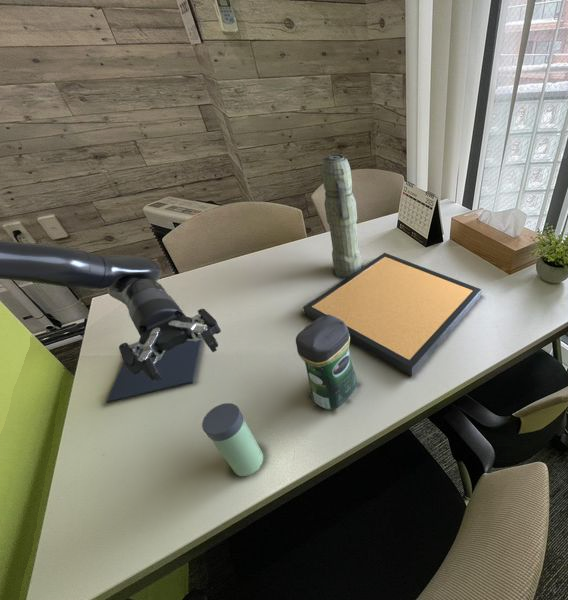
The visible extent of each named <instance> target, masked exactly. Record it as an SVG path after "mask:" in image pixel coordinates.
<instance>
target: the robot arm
mask: <svg viewBox="0 0 568 600" xmlns="http://www.w3.org/2000/svg"><path fill="white" fill-rule="evenodd" d="M161 275H162V269H161V266H160V265H159V264H158V263H157V262H155V261H154V260H153V259H151V258H149V257H147V256H143V255H142V256H141V255H137V254H98V253H94V252H89V251H85V250H81V249H78V248H73V247H67V246H61V245H55V244H46V243H45V244H44V243H35V242H34V243H33V242H20V241H12V240H11V241H10V240H2V239H0V280H9V281H19V282H27V283H33V284H34V283H35V284H36V283H37V284H43V285H44V284H45V285H51V286H57V287H58V286H59V287H64V288H72V289H79V290H86V291H87V290H88V291H104V290H106V289H107V294H108V295H109V296H110V297H111V298H113V299H114V300H116V301H119V302H121V303H122V304H123V305H125V306H126V308H127V311H128V314H129V315H128V316H129V317H130V320H131V321H132V324H133V325H134V327H135V329H136V331H137V333H138V335H139V339H138V341H136V342H134V343H132V344H128V343H129V342H124V343H121V344H120V345H119V346H118V348H119V352H120V356H121V359H122V364H123V363H124V365H125V366H126V367H127V368H128V370H129V371H130V372H131V373H132V374H133V375H135V374H138V373H139V372H140V370H144V372H145V374H146V375H147V377H148V378H149V379H150V380H154V379H156V381H159V380H161V379H162V378H161V376H160V374H159V372H158V370H157V368H156V366H155V364H156V362H157V360H160V359H161V358H162V356H163V354H164V353H165V351H166V350H167V351H168V350H170V349H172V348H174V347H175V346H177V345H180V344H183V343H185V342H186V340H188V341H198V340H202V341H204V343H205V344H206V345H207V347H208V348H209V349H210V351H211V352H212V353H215V352H217V348H218V347H219V343H218V341H217V339H216V338H215V336H214V335H217V334H220V333H221V332H222V330H221V328H220V327H219V326H220V325H219V324H218V321H217V320H216V319H215V318H214V317H213V315H211V314H210V313H209V312H208V311H207V310H206V309H205V308H200V309H198V310H197V313H198V314H195V315H194V316H191V317H190V316H186V314H185V313H184V311H183V310H182V308H181V307H180V306H179V305H178V302H176V300H175V299H174V298H173V297H172V296H171V295H170V294H169V293H168V292H167V290H165V287H163V286H162V284H160V283H159V279H160V278H161ZM197 324H200V325H197ZM141 348H143V352H142V353H141V355H140V357H139V358H138V359H137V358H136V357H138V356H139V354H138V353H139V351H140V349H141ZM148 358H149V359H148Z"/></svg>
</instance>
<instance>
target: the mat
mask: <svg viewBox="0 0 568 600" xmlns="http://www.w3.org/2000/svg"><path fill="white" fill-rule="evenodd" d="M202 341H203V340H198V341H188V340H186V342H185V343H183V344H180V345H177V346H175V347H174V348H172V349H170V350H168V351H167V350H166V351H165V353H164V354H163V356H162V358H161V359H160V360H157V362H156V364H155V366H156V368H157V370H158V372H159V374H160V376H161V378H162V379H161V380H159V381H156V379H154V380H150V379H149V378H148V377H147V375H146V374H145V372H144V370H140V372H139V373H138V374H135V375H133V374H132V373H131V372H130V371H129V370H128V368H127V367H126V366H125V365H124V363H123V362H122V365H121V367H120V369H119V372H118V374H117V376H116V378H115V380H114V383H113V386H112V387H111V390H110V392H109V395H108V397H107V399H106V402H107V403H108V404H110V403H113V402H118V401H122V400H123V401H124V400H126V399H131V398H135V397H139V396H143V395H147V394H151V393H156V392H160V391H164V390H168V389H172V388H177V387H181V386H186V385H189V384H193V383H194V381H195V376H196V372H197V366H198V361H199V356H200V352H201V347H202ZM142 352H143V348H141V349H140V351H139V353H138V354H139V356H138V357H136V358H137V359H138V358H139V357H140V355H141V353H142ZM148 359H149V358H148Z"/></svg>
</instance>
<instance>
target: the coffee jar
mask: <svg viewBox="0 0 568 600" xmlns="http://www.w3.org/2000/svg"><path fill="white" fill-rule="evenodd" d="M350 342H351V341H350V335H349V332H348V328H347V326H346V324H345V323H344V322H343V321H342V320H340V319H339V318H337V317H335V316H332V315H329V314H327V315H325V316H322V317H320V318H318V319H316V320H313V321H312V322H311V323H309V324H308V325H306V326H305V327H304V328H303V329H302V330H301V331H300V332H299V333H297V335H296V336H295V345H296V351H297V354H298V357H300V359H301V360H302V361H303V362H304V365H305V368H306V373H307V379H308V386H309V392H310V397H311V399H312V400H313V402H314V403H315V404H316V405H318V406H319V407H321V408H323V409H325V410H335V409H337V408H340V406H341V405H343V404H344V403H345V402H346V401H347V400H348V399H349V398H350V397H351V395H352V394H353V393H354V391H355V390H356V388H357V386H358V378H357V374H356V371H355V368H354V365H353V361H352V358H351V353H350Z"/></svg>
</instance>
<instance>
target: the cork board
mask: <svg viewBox="0 0 568 600" xmlns="http://www.w3.org/2000/svg"><path fill="white" fill-rule="evenodd" d="M482 292H483V289H482V288H479V287H476V286H474V285H471V284H468V283H466V282H463V281H461V280H458V279H456V278H452V277H450V276H447V275H444V274H442V273H440V272H438V271H437V272H436V271H435V270H432V269H429V268H426V267H423V266H421V265H418V264H415V263H413V262H410V261H407V260H405V259H403V258H400V257H397V256H394V255H392V254H389V253H386V252H383V253H382V254H380V255H379V256H377V257H375V258H374V259H372V260H371V261H370V262H368V263H366V264H365V265H364V266H361V269H359V270H358V271H356V272H355V273H353V274H352V275H350V276H349V277H347V278H343V279H342V280H341V281H340V282H338V283H337V284H335V285H334V286H332V287H331V288H329V289H328V290H326V291H325V292H323V293H322V294H320V295H319V296H316V297H315V298H314V299H313V300H311V301H309V302H308V303H306V304H305V305H303V306H302V310H303V314H304V316H306V317H308V318H309V319H311V320H313V321H315V320H316V319H318V318H320V317H322V316H325V315H327V314H329V315H332V316H335V317H337V318H339V319H340V320H342V321H343V322H344V323H345V324H346V326H347V328H348V332H349V335H350V342H351V343H353V344H355V345H356V346H357V347H360V348H362V349H363V350H365V351H367V352H369V353H370V354H371V355H374V356H375V357H377V358H378V359H381V360H382V361H384V362H386V363H387V364H389V365H391V366H393V367H395V368H397V369H398V370H400V371H402V372H404V373H405V374H406V375H409V377H413V376H414V375H415V373H416V372H417V371H418V370H419V369H420V368H421V367H422V365H423V364H424V363H425V362H426V361H427V360H428V359H429V358H430V357H431V355H432V354H433V353H434V352H435V350H437V348H438V347H439V346H440V345H441V343H443V341H444V340H445V339H446V338H447V337H448V336H449V334H450V333H451V332H452V331H453V330H454V329H455V327H457V325H458V324H459V323H460V322H461V321H462V320H463V318H464V317H465V316H466V314H467V313H469V311H470V310H471V309H472V308H473V306H474V305H475V304H476V303H477V302H478V301H479V299H480V298H481V297H482Z"/></svg>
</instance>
